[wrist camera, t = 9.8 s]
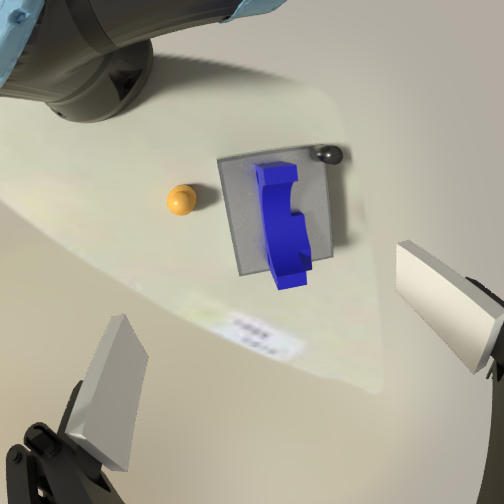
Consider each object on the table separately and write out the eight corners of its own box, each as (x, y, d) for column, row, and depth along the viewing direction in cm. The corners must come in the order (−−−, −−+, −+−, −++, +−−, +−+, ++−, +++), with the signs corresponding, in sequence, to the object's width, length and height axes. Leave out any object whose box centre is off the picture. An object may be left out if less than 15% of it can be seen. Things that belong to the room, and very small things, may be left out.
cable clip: (304, 259, 34) (320, 281, 29) (268, 266, 34) (278, 290, 28) (295, 159, 30) (312, 162, 24) (254, 164, 29) (263, 168, 24)
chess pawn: (167, 188, 33) (161, 192, 30) (193, 182, 33) (190, 186, 30) (173, 214, 34) (168, 221, 31) (199, 208, 34) (197, 215, 31)
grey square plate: (216, 158, 32) (216, 162, 24) (312, 143, 33) (342, 144, 25) (237, 264, 38) (243, 298, 29) (323, 246, 38) (350, 275, 30)
